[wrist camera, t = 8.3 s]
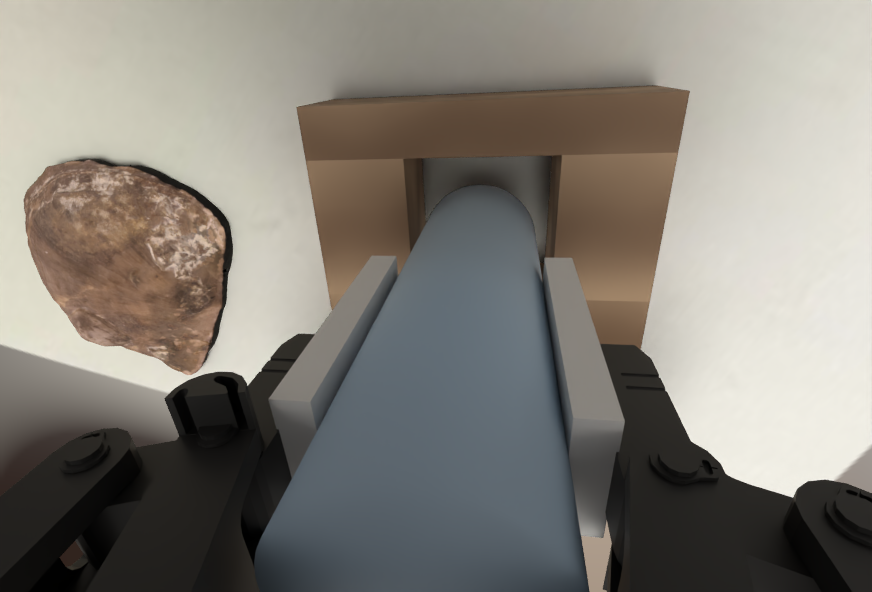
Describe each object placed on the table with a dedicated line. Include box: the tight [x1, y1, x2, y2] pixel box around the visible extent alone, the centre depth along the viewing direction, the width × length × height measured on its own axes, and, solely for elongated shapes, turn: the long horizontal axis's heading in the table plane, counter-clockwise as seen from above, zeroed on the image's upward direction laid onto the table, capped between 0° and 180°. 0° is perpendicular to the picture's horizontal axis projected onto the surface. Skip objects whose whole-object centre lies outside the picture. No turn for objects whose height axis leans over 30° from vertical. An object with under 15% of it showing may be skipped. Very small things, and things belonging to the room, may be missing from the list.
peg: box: [254, 185, 589, 592], centre depth 12 cm, size 4×4×14 cm
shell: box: [24, 159, 233, 375], centre depth 25 cm, size 12×13×4 cm
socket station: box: [297, 86, 690, 349], centre depth 16 cm, size 18×16×17 cm
